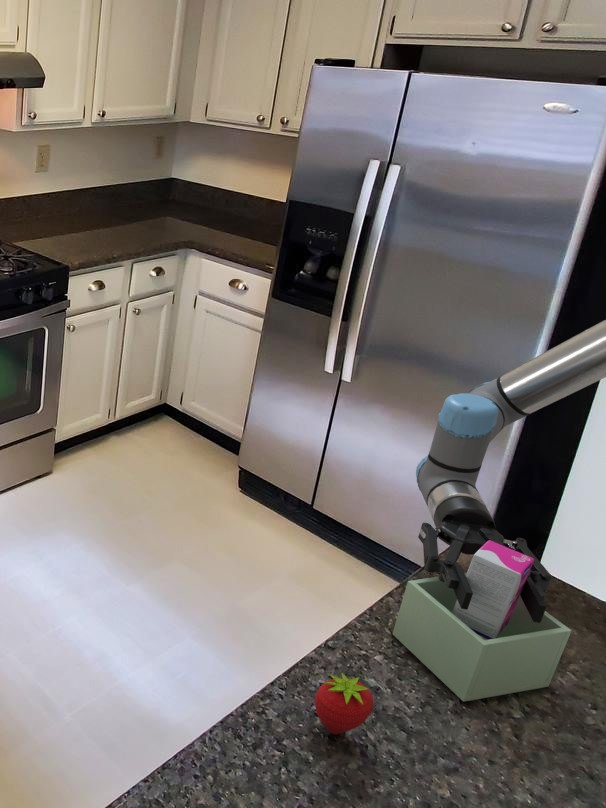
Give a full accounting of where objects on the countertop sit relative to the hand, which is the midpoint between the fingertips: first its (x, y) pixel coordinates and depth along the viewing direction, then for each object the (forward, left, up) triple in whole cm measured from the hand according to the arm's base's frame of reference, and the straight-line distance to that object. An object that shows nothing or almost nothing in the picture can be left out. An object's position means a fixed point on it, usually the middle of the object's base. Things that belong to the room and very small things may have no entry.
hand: (503, 607), depth 104 cm
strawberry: (+25, +4, -13) cm, 28 cm away
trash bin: (-2, -4, -13) cm, 14 cm away
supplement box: (-2, -4, -7) cm, 8 cm away
